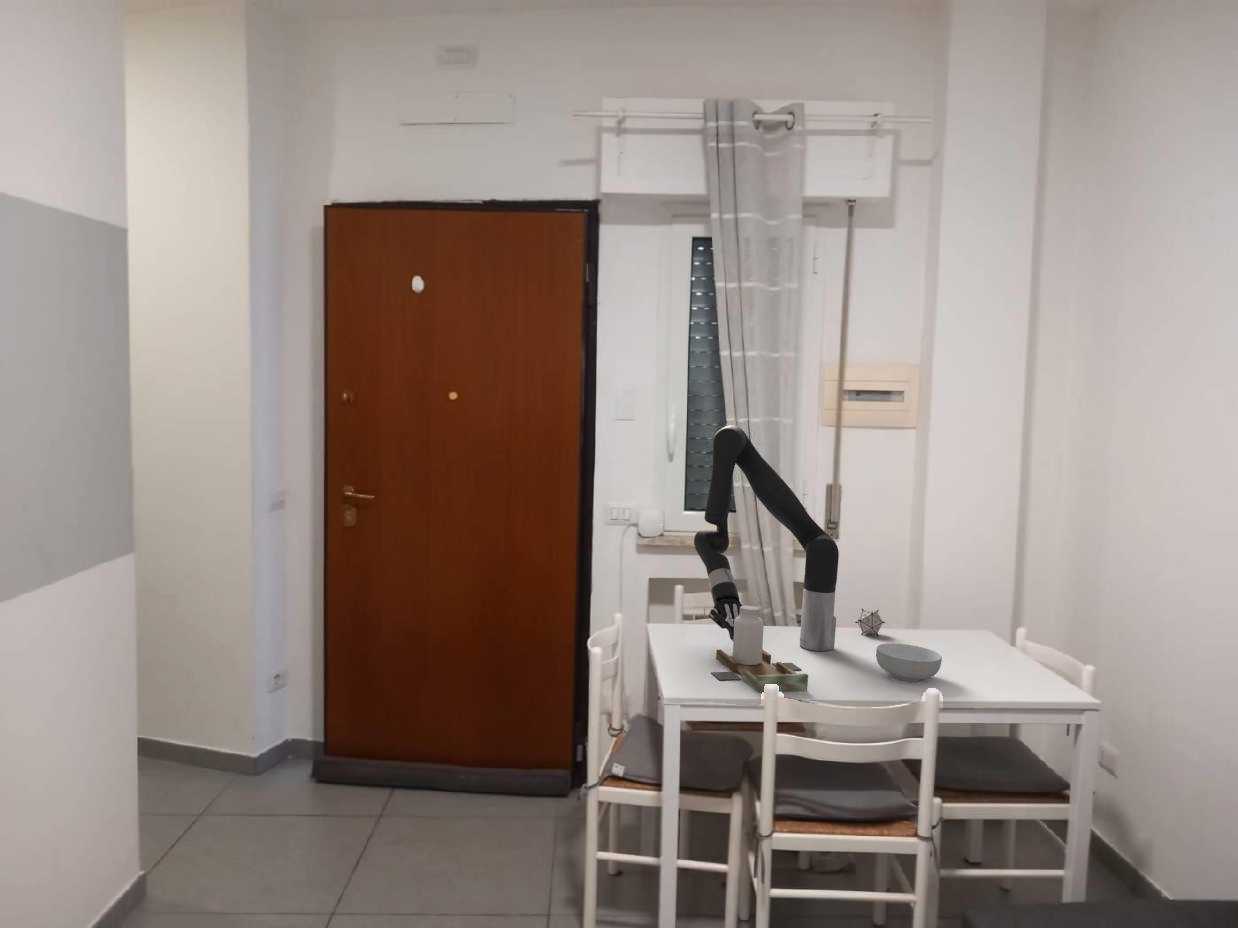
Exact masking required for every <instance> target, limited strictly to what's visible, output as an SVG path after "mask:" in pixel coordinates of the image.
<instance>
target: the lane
mask: <svg viewBox="0 0 1238 928" xmlns="http://www.w3.org/2000/svg"><path fill="white" fill-rule="evenodd" d="M715 654H716V655H715V659H716V660H717V661H718V662H720V663H721V664H722V665H724V666H725V667H726V668H727V669H728V670H730V671H711V672H710V674H711V675H712V676H713V677H714V678H715V679H716V680H718V681H720V682H723V681H741V680H742V681H743V682H744V683H745V684H746V685H747V686H749V687H750V688H751V689H753V690H754V691H755V692H757V693H760V694H761V693H765V692H764V686H765V684H777V685H778V686H779V692H778V693H784V692H785V693H787V692H803V691H804V692H807V691H808V684H809V683H808V682H809V674H808V673H797V671H802V668H800V667H798V666H797V665H796V664H795V663H793V662H781V661H776V662H771V661H772V654H770V653H769V652H767V651H765V650H764V649H763V648H762V662H761V663H760V664H758V665H742V664H738V663H737V662H736V661H735V660H733V655H728V654H727V653H725V651H723V650H722V649H716V653H715ZM736 673H737V674H738V675H737V674H736ZM739 675H740V676H741V677H742V678H741V677H739Z"/></svg>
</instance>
